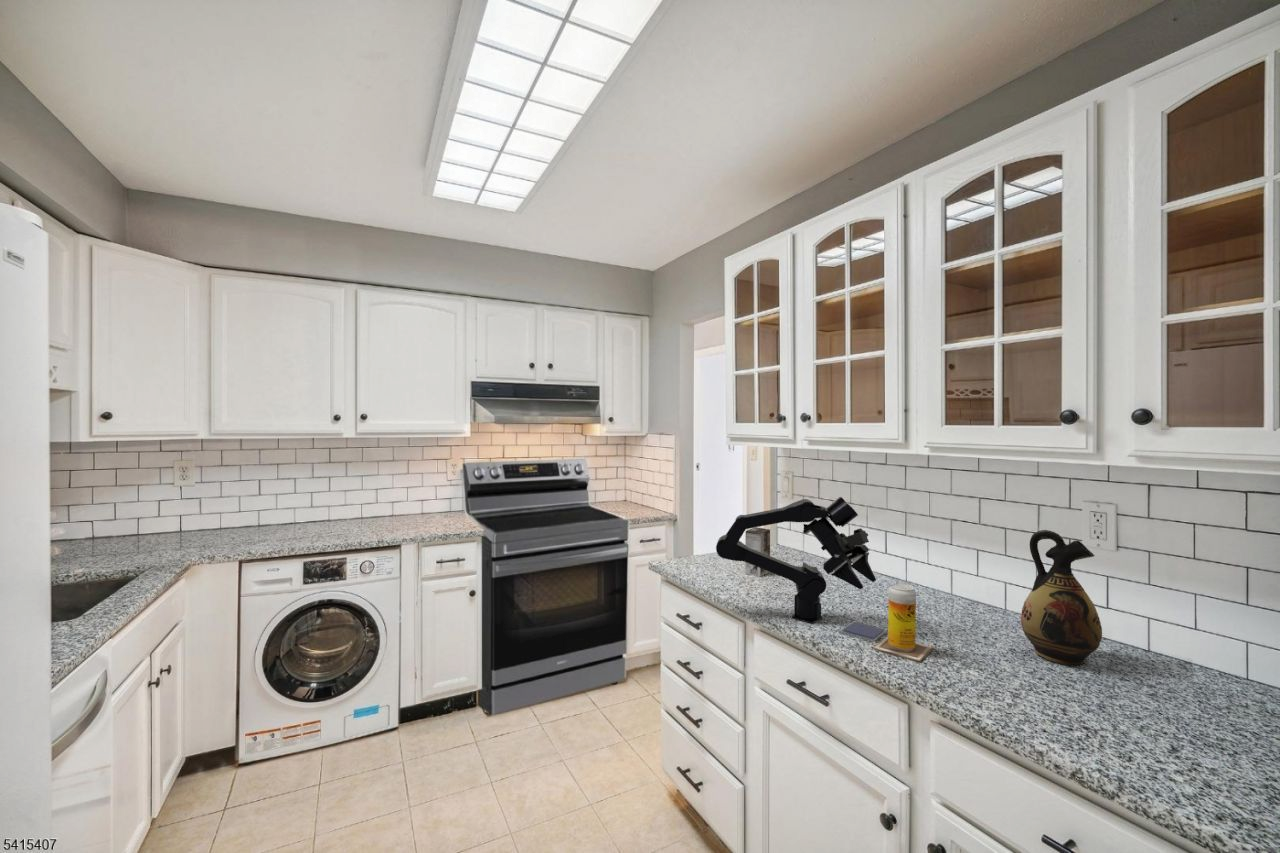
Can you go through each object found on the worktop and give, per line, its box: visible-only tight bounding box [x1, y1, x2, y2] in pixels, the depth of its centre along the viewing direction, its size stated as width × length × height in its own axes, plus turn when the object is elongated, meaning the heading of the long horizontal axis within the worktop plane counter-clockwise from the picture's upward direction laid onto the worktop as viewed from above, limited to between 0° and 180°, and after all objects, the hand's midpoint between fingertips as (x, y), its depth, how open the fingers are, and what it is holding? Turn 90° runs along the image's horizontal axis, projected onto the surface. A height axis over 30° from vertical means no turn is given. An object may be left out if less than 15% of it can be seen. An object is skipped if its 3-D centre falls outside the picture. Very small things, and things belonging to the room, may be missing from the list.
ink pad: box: [839, 621, 888, 643], centre depth 145 cm, size 9×9×1 cm
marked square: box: [872, 635, 935, 664], centre depth 135 cm, size 11×11×1 cm
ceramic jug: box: [1012, 529, 1103, 667], centre depth 131 cm, size 17×15×30 cm
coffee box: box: [744, 527, 771, 577], centre depth 203 cm, size 9×6×16 cm
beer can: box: [887, 583, 917, 652], centre depth 135 cm, size 6×6×15 cm
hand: (868, 584), depth 146 cm, fingers open, 9 cm apart
